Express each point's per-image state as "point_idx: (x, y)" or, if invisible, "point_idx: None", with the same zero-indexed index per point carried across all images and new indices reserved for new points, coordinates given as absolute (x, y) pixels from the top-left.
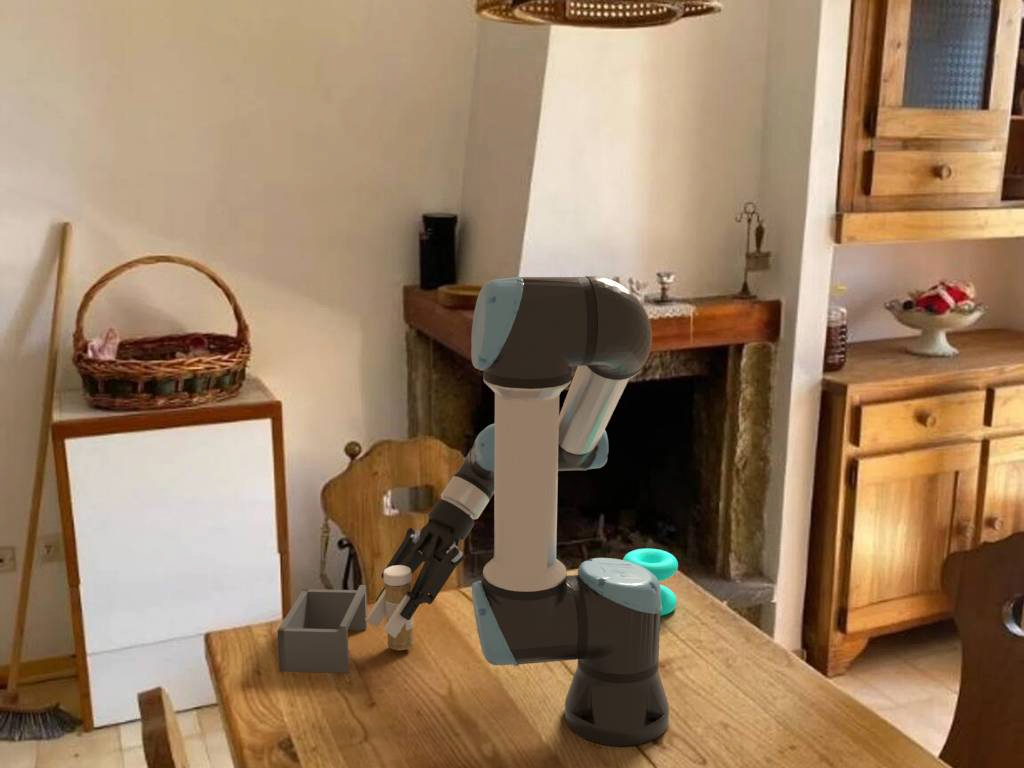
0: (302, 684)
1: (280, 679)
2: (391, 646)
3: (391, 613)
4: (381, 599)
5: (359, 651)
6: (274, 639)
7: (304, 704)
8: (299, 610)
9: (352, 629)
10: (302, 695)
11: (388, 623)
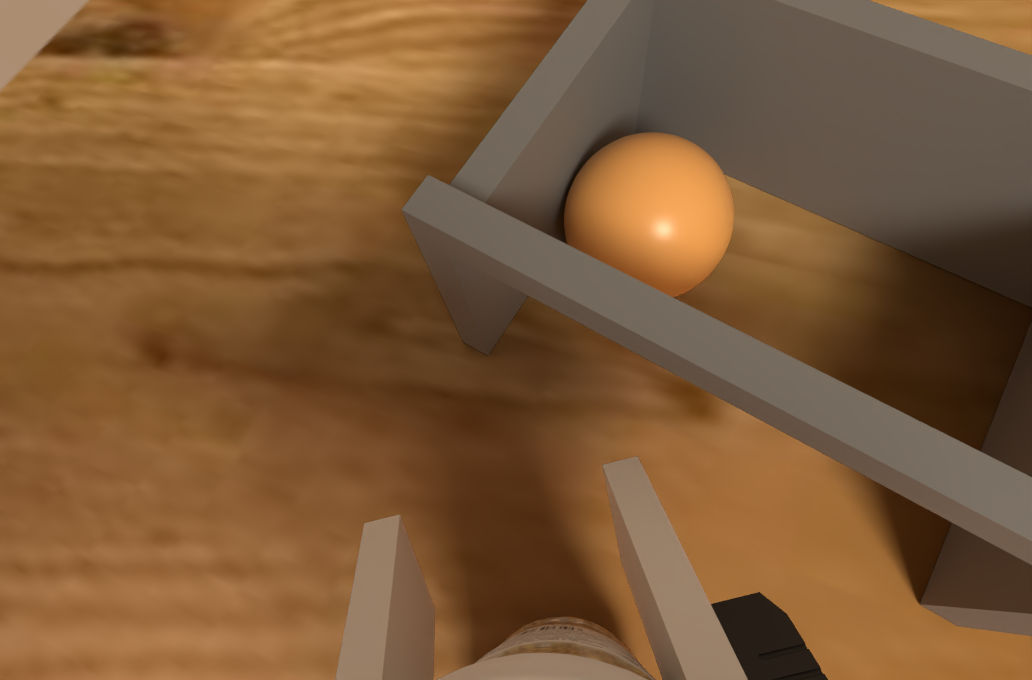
0: None
1: None
2: (529, 625)
3: (488, 653)
4: (665, 623)
5: (657, 469)
6: None
7: (323, 132)
8: (971, 107)
9: (952, 526)
10: (389, 139)
11: (373, 563)
